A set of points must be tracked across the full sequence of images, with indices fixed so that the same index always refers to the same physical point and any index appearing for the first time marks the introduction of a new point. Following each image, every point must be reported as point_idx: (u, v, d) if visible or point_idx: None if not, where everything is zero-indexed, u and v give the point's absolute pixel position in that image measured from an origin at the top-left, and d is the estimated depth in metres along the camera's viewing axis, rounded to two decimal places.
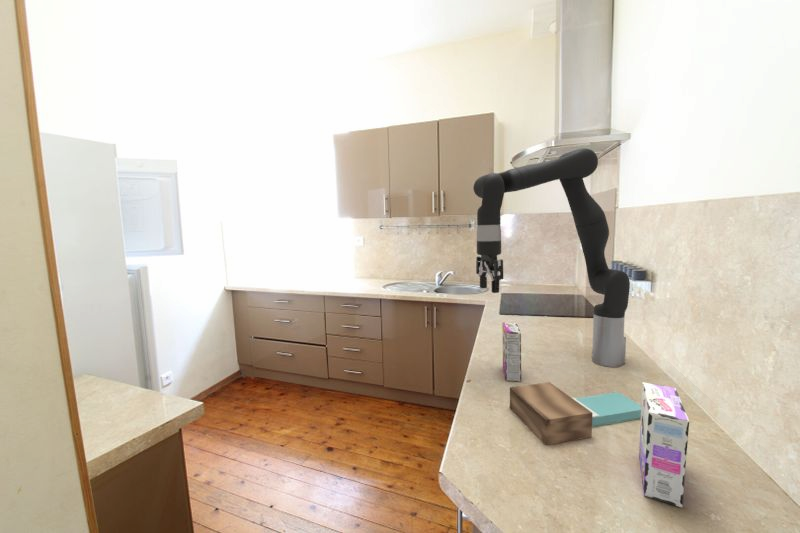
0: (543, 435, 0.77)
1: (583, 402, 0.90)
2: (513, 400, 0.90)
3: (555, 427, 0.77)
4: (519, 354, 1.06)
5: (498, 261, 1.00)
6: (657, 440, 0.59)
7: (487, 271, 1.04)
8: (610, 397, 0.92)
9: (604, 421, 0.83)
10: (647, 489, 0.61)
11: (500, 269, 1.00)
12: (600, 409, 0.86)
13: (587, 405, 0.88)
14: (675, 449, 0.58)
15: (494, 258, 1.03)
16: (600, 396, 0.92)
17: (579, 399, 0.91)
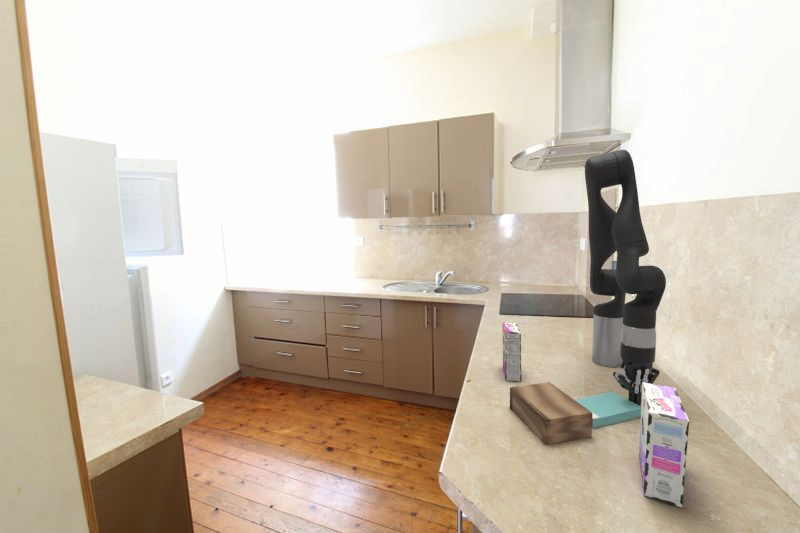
0: (543, 435, 0.77)
1: (581, 403, 0.89)
2: (513, 400, 0.90)
3: (555, 427, 0.77)
4: (519, 354, 1.06)
5: None
6: (657, 440, 0.59)
7: (643, 380, 0.88)
8: (606, 397, 0.92)
9: (604, 422, 0.83)
10: (647, 489, 0.61)
11: None
12: (599, 410, 0.86)
13: (586, 406, 0.87)
14: (675, 449, 0.58)
15: None
16: (596, 396, 0.92)
17: (577, 400, 0.91)
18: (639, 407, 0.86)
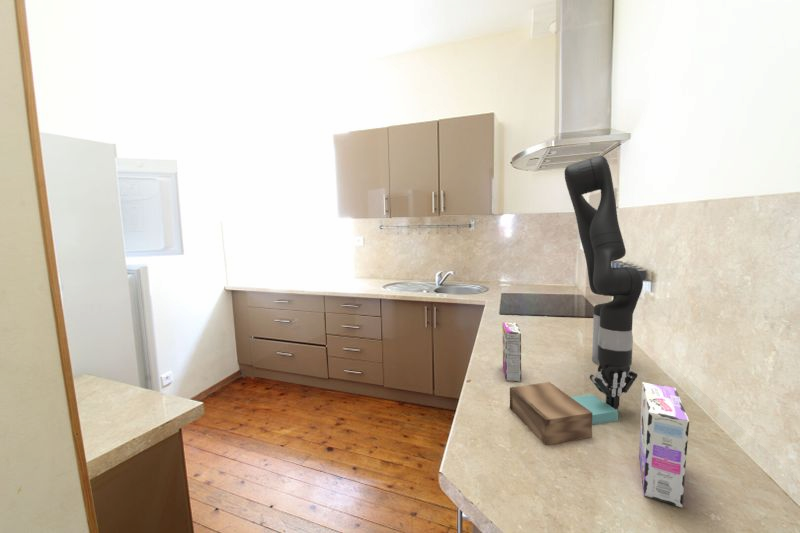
0: (543, 435, 0.77)
1: None
2: (513, 400, 0.90)
3: (555, 427, 0.77)
4: (519, 354, 1.06)
5: None
6: (657, 440, 0.59)
7: (620, 383, 0.86)
8: (583, 399, 0.91)
9: None
10: (647, 489, 0.61)
11: None
12: None
13: None
14: (675, 449, 0.58)
15: None
16: (573, 398, 0.92)
17: None
18: (614, 410, 0.85)
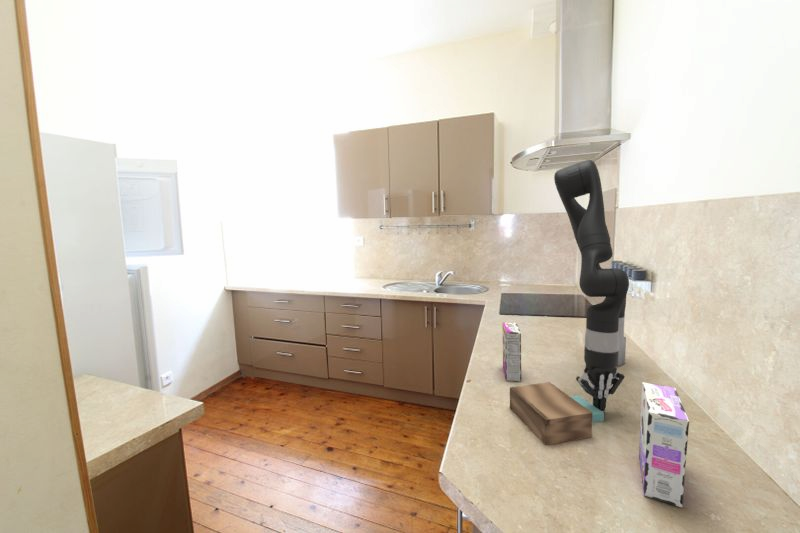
0: (543, 435, 0.77)
1: None
2: (513, 400, 0.90)
3: (555, 427, 0.77)
4: (519, 354, 1.06)
5: None
6: (657, 440, 0.59)
7: (607, 385, 0.86)
8: None
9: None
10: (647, 489, 0.61)
11: None
12: None
13: None
14: (675, 449, 0.58)
15: None
16: None
17: None
18: (599, 412, 0.85)
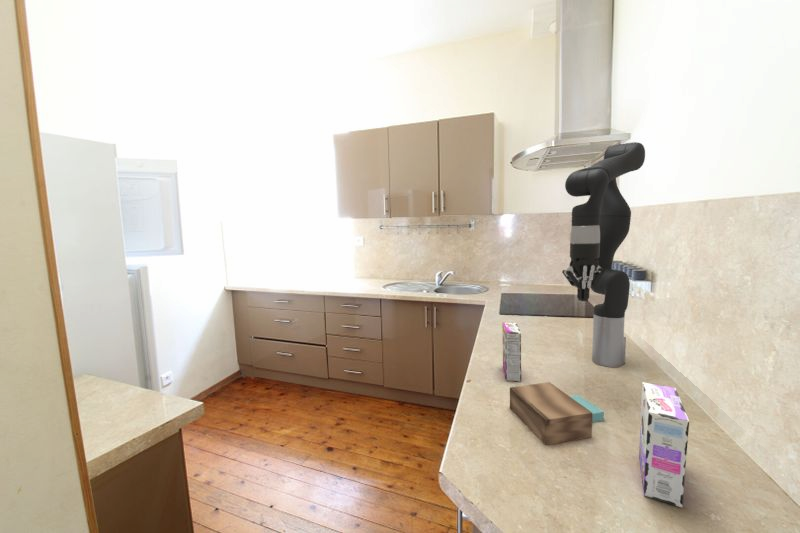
0: (543, 435, 0.77)
1: None
2: (513, 400, 0.90)
3: (555, 427, 0.77)
4: (519, 354, 1.06)
5: None
6: (657, 440, 0.59)
7: (589, 276, 0.96)
8: None
9: None
10: (647, 489, 0.61)
11: None
12: None
13: None
14: (675, 449, 0.58)
15: None
16: None
17: None
18: (600, 411, 0.85)
